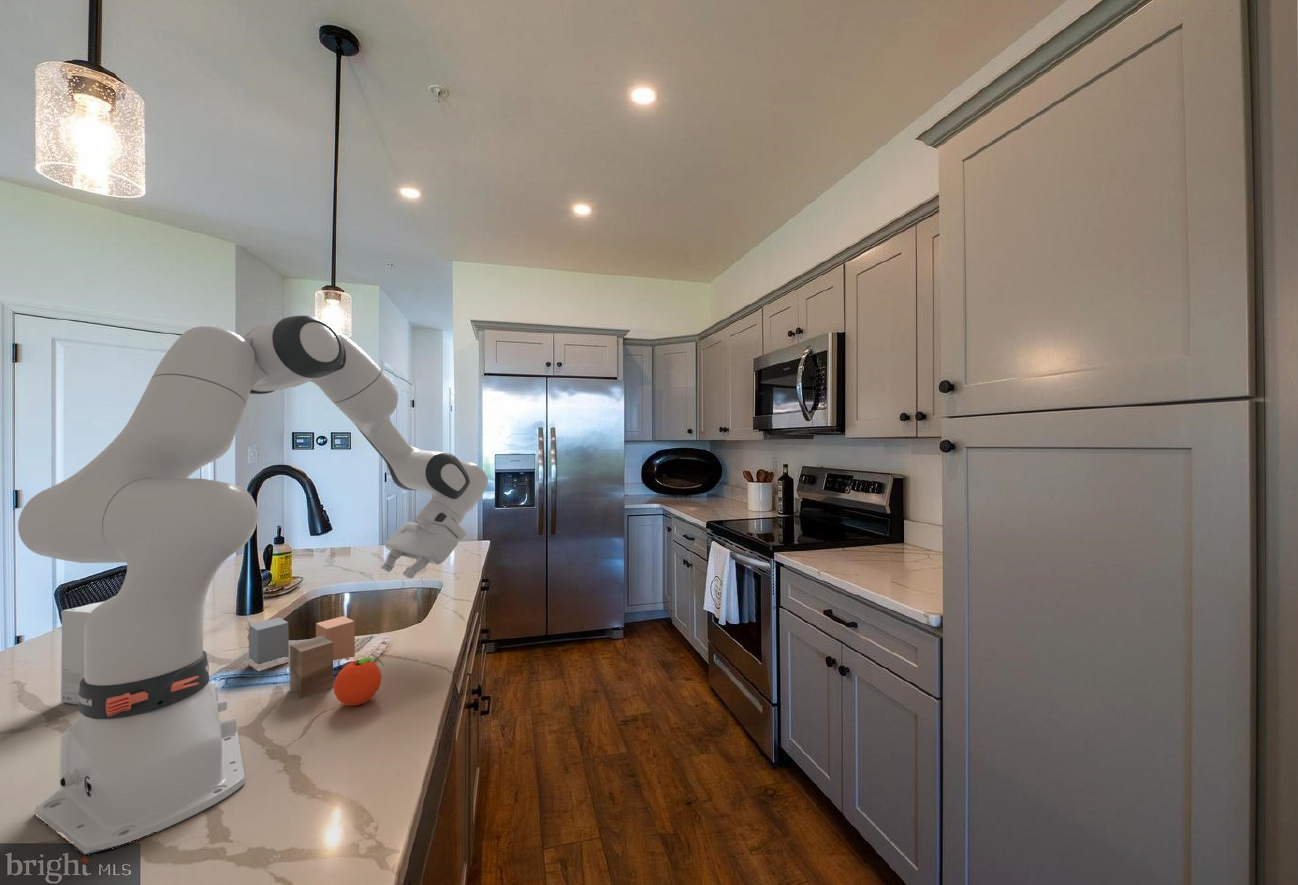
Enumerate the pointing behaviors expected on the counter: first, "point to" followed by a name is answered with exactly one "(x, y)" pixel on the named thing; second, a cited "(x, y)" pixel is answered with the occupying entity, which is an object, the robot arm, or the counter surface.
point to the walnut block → (311, 666)
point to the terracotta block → (339, 636)
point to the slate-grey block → (268, 640)
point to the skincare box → (73, 651)
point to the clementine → (357, 682)
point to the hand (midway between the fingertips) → (395, 573)
